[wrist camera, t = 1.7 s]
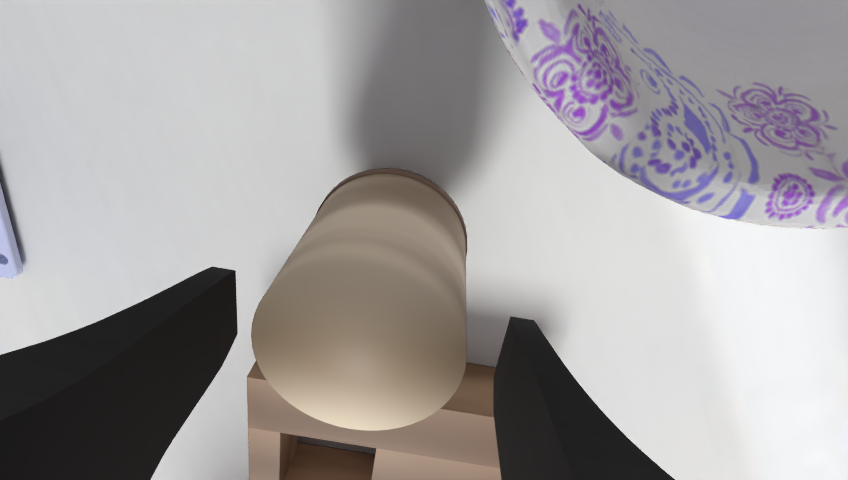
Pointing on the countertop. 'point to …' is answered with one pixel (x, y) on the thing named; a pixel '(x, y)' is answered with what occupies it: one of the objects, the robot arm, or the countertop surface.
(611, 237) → the countertop surface
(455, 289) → the peg
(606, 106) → the paper bowls
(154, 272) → the countertop surface
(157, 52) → the countertop surface
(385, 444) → the board
